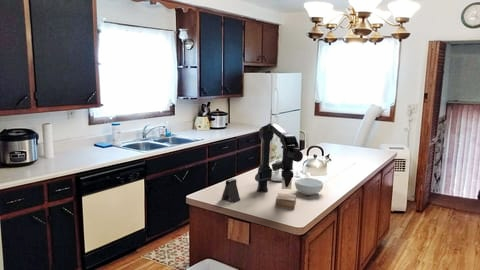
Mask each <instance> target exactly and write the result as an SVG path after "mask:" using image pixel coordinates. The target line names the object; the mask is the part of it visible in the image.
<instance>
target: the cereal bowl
mask: <svg viewBox="0 0 480 270" xmlns="http://www.w3.org/2000/svg"><path fill="white" fill-rule="evenodd" d="M294 184H295V185H294V186H295V189H296V190H297V191H298V192H300V193H302V194H303V195H305V196H307V195H308V196H314V195H315V194H318V193H320V192H321V191H322V190H323V188H324V182H323V181H322V180H319V179H317V178H310V177H307V178H306V177H302V178H301V177H300V178H298V179H295V181H294Z"/></svg>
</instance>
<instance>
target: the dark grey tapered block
mask: <svg viewBox="0 0 480 270" xmlns="http://www.w3.org/2000/svg"><path fill="white" fill-rule="evenodd" d="M222 199H223V201H225V200H226V201H225V202H228V201H229V202H228V203H231V202H233V203H234V204H235V203H236V202H239V200H240V201H241V197H240V194H239V189H238V185H237V178H229V179H226V181H225V186H224V189H223V194H222V195H221V200H222ZM233 203H232V204H233Z"/></svg>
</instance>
